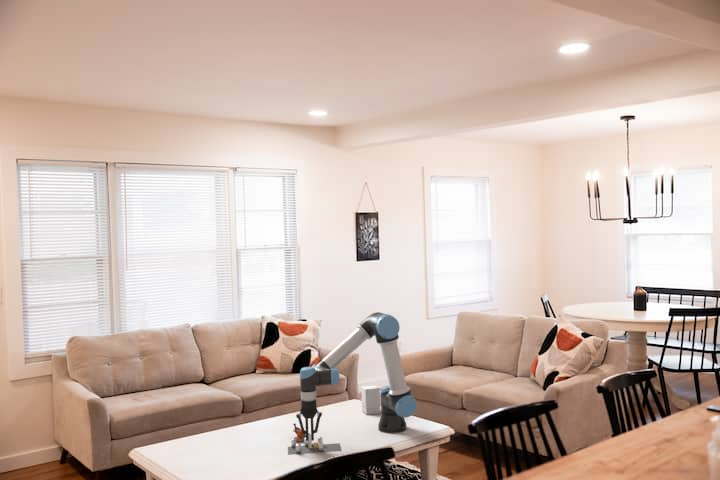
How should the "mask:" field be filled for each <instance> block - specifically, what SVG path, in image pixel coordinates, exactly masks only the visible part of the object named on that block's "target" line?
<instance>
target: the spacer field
mask: <svg viewBox="0 0 720 480" xmlns="http://www.w3.org/2000/svg"><path fill="white" fill-rule="evenodd" d="M303 439H304V442H303V443H304V446H305V447H309V442H308V441H306V437H303ZM317 442H319V443H318V448H319V452H321V453H324V452H323V451H324V449H323V444H324V442H323V436H318V437H317ZM290 443H291V446H290V447H292V448H296V454H295V455H301V454H300V453H301V446H302V445H301V443H297V441H296V439H294V438H291V439H290Z"/></svg>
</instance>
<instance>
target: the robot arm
mask: <svg viewBox="0 0 720 480" xmlns="http://www.w3.org/2000/svg"><path fill="white" fill-rule="evenodd" d="M356 327H357V328H356V329H355V330H354V331H352V333H351V334H349V336H347V337H346V338H345V339H343V341H342V342H340V343H339V344H338V346H336V347H335V348H334V349H333V350H331V352H330V353H329V354H327V356H325V357H323V359H322V360H321V361H319V362H318V363H315V364H312V365H311V366H304V367H301V369H300V371H299V380H300V381H299V383H300V406H301V407H300V411H299V412H298V413H296V415H295V416H296V418H297V419H298V423H299V426H300V427H299V428H300V429H301V430H302V433H303V434H305V435H306V437H305V438H306V441H308V442H309V448H312V444H313V442H312V441H314V440H315V439H314V438H315V437H314V436H315V434H317V433H318V430H319V424H320V420H321V418H322V416H323V413H322V411H319V410H318V408H317V406H318V405H317V387H323V386H330V385H331V386H333V385H337V384H339V382H340V379H341V377H340V372H339V370H338V368H337V367H338V366H339V365H340V364H341V363H343V361H344V360H346V359H347V358H348V357H349V356H350V355H351V354H352V353H354V351H356V350H357V349H358V348H359V347H361V346H362V344H363V343H364V342H366V341H368V340H371V339H372V338H373V337H375V340H376V343H377V344H378V345H380V348H381V349H380V350H381V354H382V357H383V362H384V366H385V371H386V375H387V379H388V384H389V385H386V386H382V387H381V388H380V414H381V415H380V418H379V420H378V424H377V425H378V428H377V429H378V431H380V432H381V433H387V434H391V433H392V434H395V433H396V434H397V433H401V432H405V431H406V430H407V427H408V425H407V421H406V419H405V418H409V417H411V416H412V415H414V414H415V412H416V410H417V407H418V402H417V400H416V398H415V397H414V396H413V394H412V389H411V387H410V386H409V385H407V381H406V377H405V373H404V367H403V363H402V360H401V354H400V351H399V350H400V349H399V346H398V345H399V344H398V340H399V338H400V336H399V332H400V323H399V321H398V319H397V318H396V317H394V316H393V315H391V314H389V313H386V314H385V313H383V312H373V313H371V314H370V315H368V316H367V317H366V318H364V319H363V320H362V321H361V322H360V323H359V324H357V325H356ZM315 416H316V422H315V426H314V418H315ZM301 417H303V418H304V420H305V423H304V424H305V427H304V424H303V421H302V418H301ZM309 419H310V432H309ZM314 442H315V441H314Z"/></svg>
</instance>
